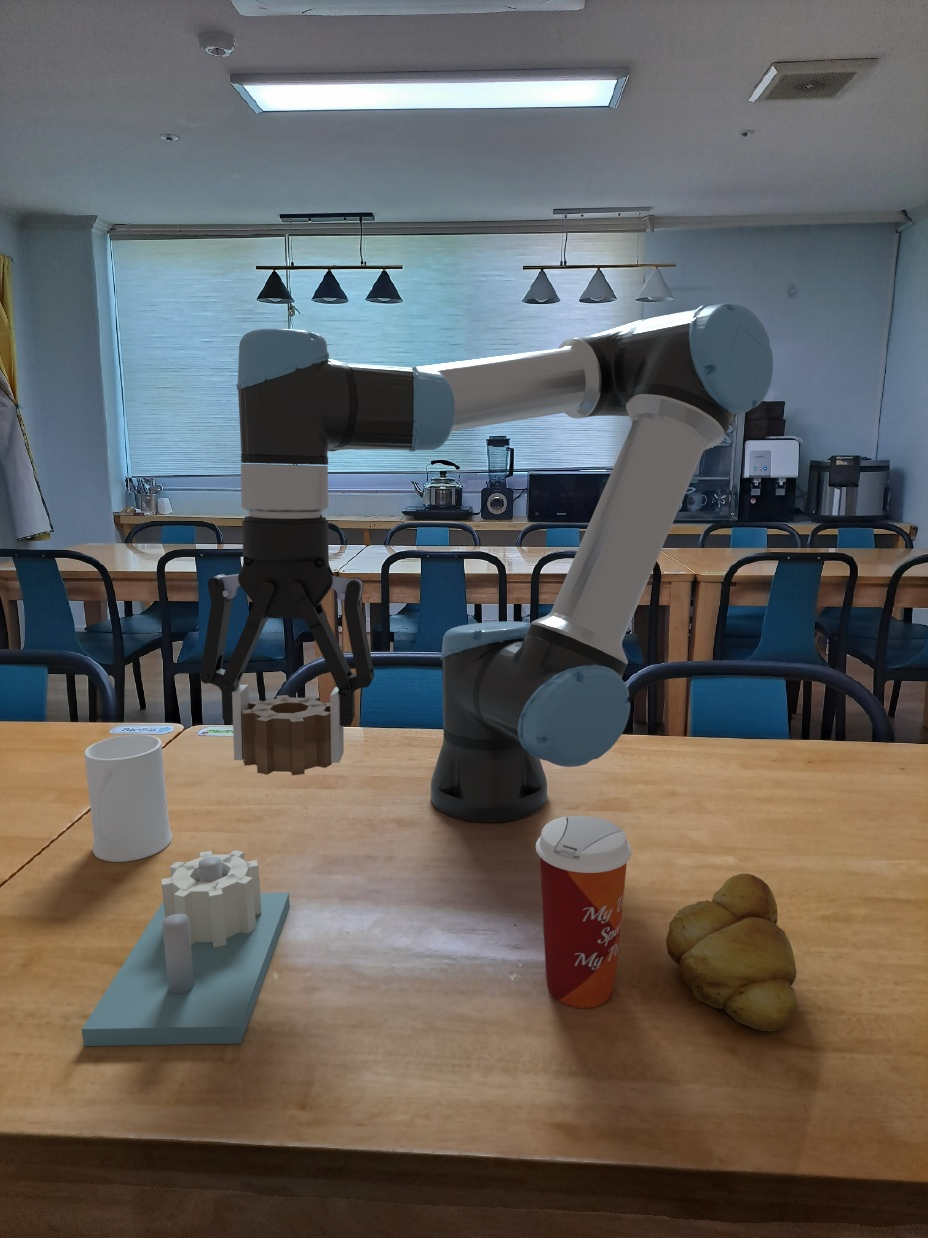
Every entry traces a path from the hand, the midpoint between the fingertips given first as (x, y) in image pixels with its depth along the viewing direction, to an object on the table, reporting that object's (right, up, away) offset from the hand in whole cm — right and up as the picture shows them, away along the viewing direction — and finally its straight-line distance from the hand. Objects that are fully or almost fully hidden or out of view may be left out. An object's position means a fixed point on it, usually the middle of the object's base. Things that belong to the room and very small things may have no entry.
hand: (289, 756), depth 76 cm
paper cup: (+26, -18, -8) cm, 33 cm away
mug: (-22, -14, +16) cm, 31 cm away
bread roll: (+39, -18, -8) cm, 44 cm away
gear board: (-7, -18, -5) cm, 20 cm away
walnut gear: (0, 0, 0) cm, 0 cm away
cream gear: (-7, -15, -1) cm, 17 cm away
